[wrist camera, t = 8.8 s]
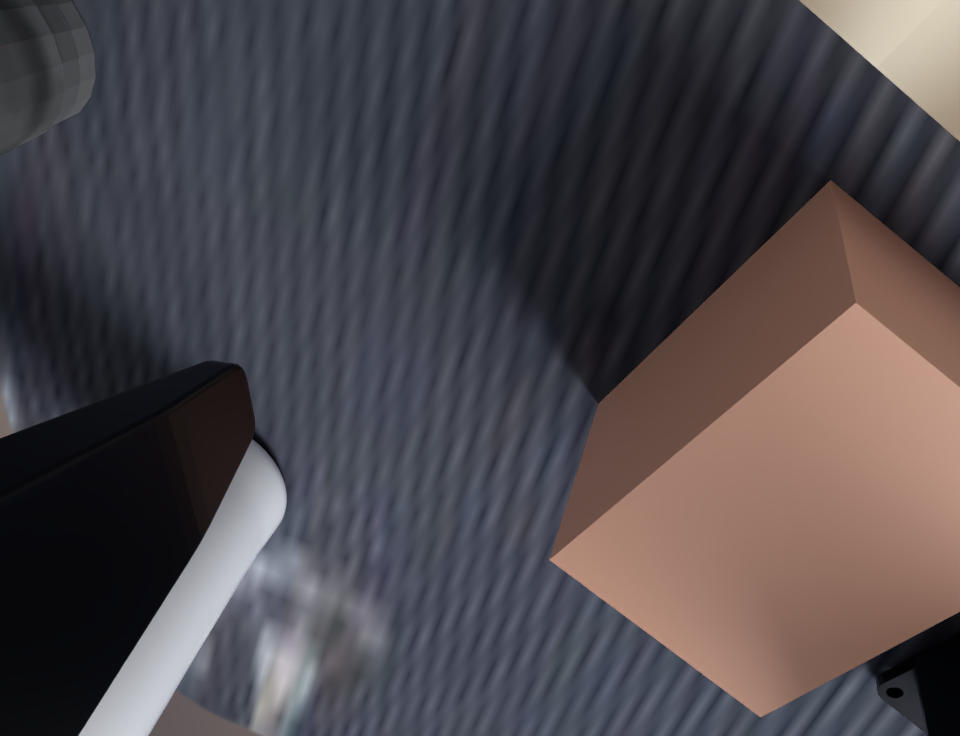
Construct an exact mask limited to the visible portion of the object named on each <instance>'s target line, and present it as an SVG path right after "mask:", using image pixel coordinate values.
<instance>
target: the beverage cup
mask: <svg viewBox="0 0 960 736" xmlns="http://www.w3.org/2000/svg"><path fill="white" fill-rule="evenodd" d="M95 78H96V73H95V54H94V50H93V46H92V43H91V40H90V37H89V33H88V30H87V27H86V25H85V23H84V21H83V20H82V18H81V16H80V14H79V13H78V11H77V9H76V7H75V6H74V4H73V2H72V1H71V0H0V155H2V154H4V153H6V152H8V151H10V150H12V149H14V148H16V147H18V146H20V145H22V144H24V143H26V142H28V141H30V140H32V139H34V138H36V137H38V136H40V135H42V134H44V133H46V132H47V131H48V130H49V129H50V127H52V126H54V125H56V124H58V123H59V122H61V121H63V120H66V119H68V118H69V117H71V116H73V115H75V114H77V113H79V112H80V111H81V110H82V108H83V107H84V106H85V104H86V103H87V102H88V100H89V99H90V98H91V94H92V90H93V86H94V82H95Z"/></svg>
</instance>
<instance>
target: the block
mask: <svg viewBox="0 0 960 736" xmlns="http://www.w3.org/2000/svg"><path fill="white" fill-rule="evenodd" d="M550 561H552V562H553V563H554V564H556V565H557V566H558V567H560V568H561V569H562V570H564V571H565V572H566V573H568V574H569V575H570V576H572V577H573V578H574V579H576V580H577V581H579V582H580V583H581V584H583V585H584V586H585V587H587V588H588V589H589V590H591V591H592V592H593V593H595V594H596V595H597V596H599V597H600V598H601V599H603V600H604V601H605V602H607V603H608V604H609V605H611V606H612V607H613V608H615V609H616V610H617V611H619V612H620V613H621V614H623V615H624V616H625V617H627V618H628V619H629V620H631V621H632V622H633V623H635V624H636V625H638V626H639V627H640V628H642V629H643V630H644V631H646V632H647V633H648V634H650V635H651V636H652V637H654V638H655V639H656V640H658V641H659V642H660V643H662V644H663V645H664V646H666V647H667V648H668V649H670V650H671V651H672V652H674V653H675V654H676V655H678V656H679V657H680V658H682V659H683V660H684V661H686V662H687V663H688V664H690V665H691V666H692V667H694V668H695V669H696V670H698V671H699V672H701V673H702V674H703V675H705V676H706V677H707V678H709V679H710V680H711V681H713V682H714V683H715V684H717V685H718V686H719V687H721V688H722V689H723V690H725V691H726V692H727V693H729V694H730V695H731V696H733V697H734V698H735V699H737V700H738V701H739V702H741V703H742V704H743V705H745V706H746V707H747V708H749V709H750V710H751V711H753V712H754V713H755V714H757V715H758V716H759V717H762V716H764V715H766V714H768V713H770V712H772V711H774V710H776V709H777V708H779V707H781V706H783V705H785V704H787V703H789V702H791V701H793V700H794V699H796V698H798V697H800V696H802V695H804V694H806V693H808V692H810V691H811V690H813V689H815V688H817V687H819V686H821V685H823V684H825V683H826V682H828V681H830V680H832V679H834V678H836V677H838V676H840V675H842V674H843V673H845V672H847V671H849V670H851V669H853V668H855V667H857V666H859V665H860V664H862V663H864V662H866V661H868V660H870V659H872V658H874V657H875V656H877V655H879V654H881V653H883V652H885V651H887V650H889V649H891V648H892V647H894V646H896V645H898V644H900V643H902V642H904V641H906V640H908V639H909V638H911V637H913V636H915V635H917V634H919V633H921V632H923V631H925V630H926V629H928V628H930V627H932V626H934V625H936V624H938V623H940V622H941V621H943V620H945V619H947V618H949V617H951V616H953V615H955V614H957V613H958V612H960V287H959V286H958V285H956V284H955V283H954V282H953V281H951V280H950V279H949V278H948V277H947V276H945V275H944V274H943V273H942V272H941V271H939V270H938V269H937V268H936V267H935V266H933V265H932V264H931V263H930V262H929V261H927V260H926V259H925V258H924V257H923V256H921V255H920V254H919V253H918V252H917V251H915V250H914V249H913V248H912V247H911V246H909V245H908V244H907V243H906V242H905V241H903V240H902V239H901V238H900V237H899V236H897V235H896V234H895V233H894V232H893V231H891V230H890V229H889V228H888V227H887V226H885V225H884V224H883V223H882V222H881V221H879V220H878V219H877V218H876V217H875V216H873V215H872V214H871V213H870V212H869V211H867V210H866V209H865V208H864V207H863V206H861V205H860V204H859V203H858V202H857V201H855V200H854V199H853V198H852V197H851V196H849V195H848V194H847V193H846V192H845V191H843V190H842V189H841V188H840V187H839V186H837V185H836V184H835V183H834V182H833V181H831V180H830V181H829V182H828V183H827V184H826V185H825V186H824V187H823V188H822V189H821V190H820V191H819V192H818V193H817V194H816V195H815V196H814V197H813V198H811V199H810V200H809V201H808V202H807V203H806V204H805V205H804V206H803V207H802V208H801V209H800V210H799V211H798V212H797V213H796V214H795V215H794V216H793V217H792V218H791V219H790V220H789V221H788V222H787V223H786V224H784V225H783V226H782V227H781V228H780V229H779V230H778V231H777V232H776V233H775V234H774V235H773V236H772V237H771V238H770V239H769V240H768V241H767V242H766V243H765V244H764V245H763V246H762V247H761V248H760V249H759V250H757V251H756V252H755V253H754V254H753V255H752V256H751V257H750V258H749V259H748V260H747V261H746V262H745V263H744V264H743V265H742V266H741V267H740V268H739V269H738V270H737V271H736V272H735V273H734V274H733V275H732V276H731V277H729V278H728V279H727V280H726V281H725V282H724V283H723V284H722V285H721V286H720V287H719V288H718V289H717V290H716V291H715V292H714V293H713V294H712V295H711V296H710V297H709V298H708V299H707V300H706V301H705V302H704V303H702V304H701V305H700V306H699V307H698V308H697V309H696V310H695V311H694V312H693V313H692V314H691V315H690V316H689V317H688V318H687V319H686V320H685V321H684V322H683V323H682V324H681V325H680V326H679V327H678V328H677V329H676V330H674V331H673V332H672V333H671V334H670V335H669V336H668V337H667V338H666V339H665V340H664V341H663V342H662V343H661V344H660V345H659V346H658V347H657V348H656V349H655V350H654V351H653V352H652V353H651V354H650V355H649V356H647V357H646V358H645V359H644V360H643V361H642V362H641V363H640V364H639V365H638V366H637V367H636V368H635V369H634V370H633V371H632V372H631V373H630V374H629V375H628V376H627V377H626V378H625V379H624V380H623V381H622V382H620V383H619V384H618V385H617V386H616V387H615V388H614V389H613V390H612V391H611V392H610V393H609V394H608V395H607V396H606V397H605V398H604V399H603V400H602V401H601V402H600V403H599V404H598V407H597V410H596V413H595V416H594V420H593V423H592V426H591V429H590V432H589V436H588V439H587V442H586V445H585V448H584V452H583V455H582V458H581V461H580V464H579V467H578V471H577V474H576V477H575V480H574V483H573V487H572V490H571V493H570V496H569V499H568V503H567V506H566V509H565V512H564V515H563V518H562V522H561V525H560V528H559V531H558V534H557V538H556V541H555V544H554V547H553V550H552V553H551V557H550Z"/></svg>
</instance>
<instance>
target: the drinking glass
mask: <svg viewBox="0 0 960 736" xmlns="http://www.w3.org/2000/svg"><path fill="white" fill-rule="evenodd" d="M286 504H287V493H286V487H285V483H284V480H283V477H282V475H281V472H280V470H279V468H278V467H277V465H276V463H275V462H274V460H273V459H272V458H271V457H270V455H269V454H268V453H267V452H266V451H265V450H264V449H263V448H262V447H261V446H260V445H259V444H258V443H257V442H255V441H254V440H253V439H252V441H251V443H250V445H249V447H248V449H247V451H246V453H245V455H244V458H243V460H242V462H241V464H240V466H239V468H238V470H237V472H236V474H235V476H234V478H233V480H232V482H231V484H230V486H229V488H228V490H227V492H226V494H225V496H224V498H223V500H222V502H221V504H220V506H219V508H218V510H217V512H216V514H215V516H214V518H213V521H212V523H211V525H210V526H209V528H208V530H207V532H206V534H205V536H204V538H203V539H202V541H201V543H200V545H199V546H198V548H197V550H196V551H195V553H194V555H193V556H192V558H191V560H190V561H189V563H188V564H187V566H186V567H185V569H184V571H183V572H182V574H181V575H180V577H179V578H178V580H177V582H176V583H175V585H174V586H173V588H172V589H171V591H170V593H169V594H168V596H167V597H166V599H165V600H164V602H163V604H162V605H161V607H160V608H159V610H158V612H157V613H156V615H155V616H154V618H153V619H152V621H151V623H150V624H149V626H148V627H147V629H146V630H145V632H144V634H143V635H142V637H141V638H140V640H139V641H138V643H137V645H136V646H135V648H134V649H133V651H132V652H131V654H130V656H129V657H128V659H127V660H126V662H125V663H124V665H123V667H122V668H121V670H120V671H119V673H118V674H117V676H116V678H115V679H114V681H113V682H112V684H111V685H110V687H109V689H108V690H107V692H106V693H105V695H104V697H103V698H102V700H101V701H100V703H99V704H98V706H97V708H96V709H95V711H94V712H93V714H92V715H91V717H90V719H89V720H88V722H87V723H86V725H85V726H84V728H83V730H82V731H81V733H80V734H79V736H149V734H150V732H151V731H152V729H153V727H154V726H155V724H156V722H157V721H158V719H159V717H160V715H161V714H162V712H163V710H164V709H165V707H166V705H167V704H168V702H169V700H170V699H171V697H172V695H173V694H174V692H175V690H176V689H177V687H178V685H179V684H180V682H181V680H182V679H183V677H184V675H185V674H186V672H187V670H188V669H189V667H190V665H191V664H192V662H193V660H194V659H195V657H196V655H197V654H198V652H199V650H200V649H201V647H202V645H203V644H204V642H205V640H206V639H207V637H208V635H209V634H210V632H211V630H212V629H213V627H214V625H215V624H216V622H217V620H218V619H219V617H220V615H221V614H222V612H223V610H224V609H225V607H226V605H227V604H228V602H229V601H230V599H231V597H232V596H233V594H234V592H235V591H236V589H237V587H238V586H239V584H240V582H241V581H242V579H243V578H244V576H245V574H246V573H247V571H248V569H249V568H250V566H251V565H252V563H253V561H254V560H255V558H256V557H257V555H258V554H259V552H260V551H261V549H262V548H263V547H264V545H265V544H266V543H267V541H268V540H269V539H270V537H271V536H272V535H273V533H274V532H275V530H276V529H277V528H278V526H279V524H280V523H281V521H282V519H283V516H284V514H285V510H286Z"/></svg>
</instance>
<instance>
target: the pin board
mask: <svg viewBox="0 0 960 736" xmlns="http://www.w3.org/2000/svg"><path fill="white" fill-rule="evenodd" d="M800 1H801V2H802V3H803V4H804V5H805V6H806V7H808V8H809V9H810V10H811V11H812V12H813V13H814V14H815V15H817V16H818V17H819V18H820V19H821V20H822V21H823V22H825V23H826V24H827V25H828V26H829V27H830V28H831V29H833V30H834V31H835V32H836V33H837V34H838V35H839V36H840V37H842V38H843V39H844V40H845V41H846V42H847V43H848V44H850V45H851V46H852V47H853V48H854V49H855V50H856V51H858V52H859V53H860V54H861V55H862V56H863V57H864V58H865V59H867V60H868V61H869V62H870V63H871V64H872V65H873V66H875V67H876V68H877V69H878V70H879V71H880V72H881V73H883V74H884V75H885V76H886V77H887V78H888V79H889V80H891V81H892V82H893V83H894V84H895V85H896V86H897V87H898V88H900V89H901V90H902V91H903V92H904V93H905V94H906V95H908V96H909V97H910V98H911V99H912V100H913V101H914V102H916V103H917V104H918V105H919V106H920V107H921V108H922V109H923V110H925V111H926V112H927V113H928V114H929V115H930V116H931V117H933V118H934V119H935V120H936V121H937V122H938V123H939V124H941V125H942V126H943V127H944V128H945V129H946V130H947V131H948V132H950V133H951V134H952V135H953V136H954V137H955V138H956V139H958V140H959V141H960V0H800Z"/></svg>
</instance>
